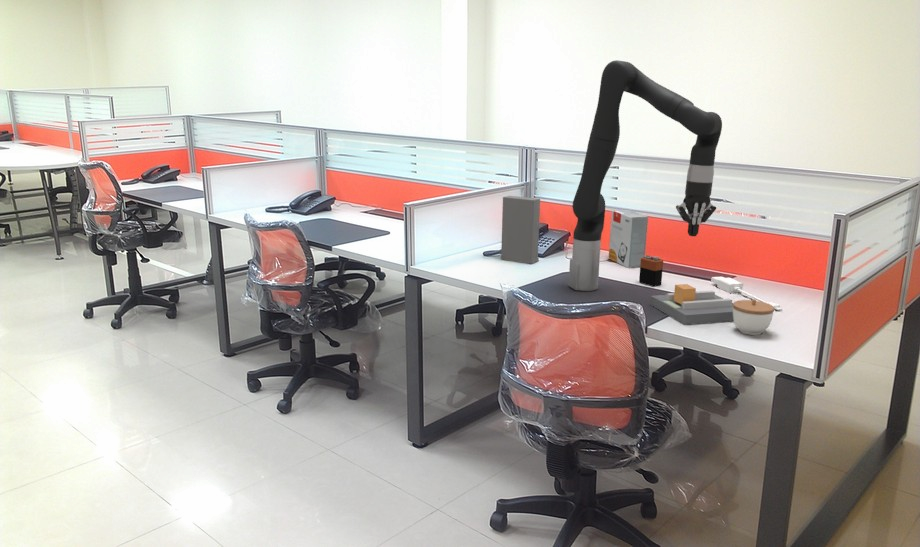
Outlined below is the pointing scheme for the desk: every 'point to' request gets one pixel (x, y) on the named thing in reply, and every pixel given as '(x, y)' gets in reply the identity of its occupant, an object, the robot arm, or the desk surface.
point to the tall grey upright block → (520, 229)
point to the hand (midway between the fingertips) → (692, 235)
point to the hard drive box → (627, 237)
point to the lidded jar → (752, 316)
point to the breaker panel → (696, 308)
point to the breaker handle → (684, 293)
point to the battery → (651, 270)
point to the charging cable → (736, 288)
